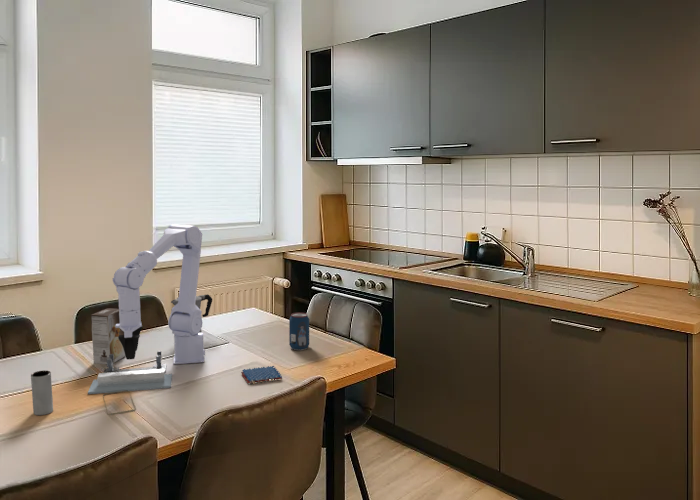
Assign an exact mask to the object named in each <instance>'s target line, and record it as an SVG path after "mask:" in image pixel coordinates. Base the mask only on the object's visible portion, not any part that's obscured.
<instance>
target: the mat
mask: <svg viewBox="0 0 700 500" xmlns="http://www.w3.org/2000/svg"><path fill="white" fill-rule="evenodd" d="M172 379H173V373H167V374H166V373H165V382H158V383H145V384H132V385H119V386H106V387H98V378H97V379H93V380H92V383H91V384H90V387H89V389H88V391H87V395H95V394H106V393H113V392H119V391H129V392H135V391H147V390H159V389H171V388H172Z"/></svg>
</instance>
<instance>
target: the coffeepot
mask: <svg viewBox="0 0 700 500" xmlns="http://www.w3.org/2000/svg"><path fill="white" fill-rule="evenodd" d="M178 299H179V296H178V297H176V299H173V300H171V301H170V303H171V304H172V305H173V307H174V306H175V305H176V304H178ZM205 300H207V302H206V307H205V311H204V312H205V313H204V314H201V317H202V318H205V317H208V316H209V313H210V310H211V307H212V304H213V303H212V302H213V298H212V297H211V295H209V294H201V295H196V302H195V304H196V306H197V307H198V308H199V309H200V310H201V306H202V301H205ZM183 313H185V312H183ZM187 314H189V313H187ZM199 333H203V332H202V329H201V330H200V331H199Z"/></svg>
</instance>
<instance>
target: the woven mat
mask: <svg viewBox="0 0 700 500" xmlns="http://www.w3.org/2000/svg"><path fill="white" fill-rule="evenodd" d="M240 374H241V376H242V377H243V378H244V379H245V382H246V381H247V382H246V383H247V384H248V383H251V384H252V383H253V384H252V385H255V384H256V383H255V382H258V383H260V382H262V383H264V382H263V381H266V382H267V381H269V379H271V381H272V380H273V379H274V380H275V379H281V380H282V379H283V376H282V374H281V373H280V372H279V370H278V369H277V368H276V367H275V365H270V366H269V365H268V366H262V367H256V368H255V367H254V368H247V369H245V368H244V369H242V371H241V372H240ZM269 382H270V381H269Z"/></svg>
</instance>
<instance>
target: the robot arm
mask: <svg viewBox="0 0 700 500" xmlns="http://www.w3.org/2000/svg"><path fill="white" fill-rule="evenodd" d="M202 240H203V232H202V231H201V230H200V228H199V227H198V226H196V225H181V224H174V223H173V224H172V223H171V224H169V225H168V226H167V228H165V229H164V230H163V235H162V236H161V237H160V238H159V239H158V240H157V241H156V242H155V243H154V244H153V245H152V247H150V248H149V250H142V251H139V252H138V253H137V256H135V258H133V259H132V260H131V261H130V262H128V263H127V265H125V266H121V267H119V268H118V269H117V270H116V271H115V273H114V274H113V277H112V283H113V285H114V286H115V288H116V292H117V294H118V295H117V296H118V309H119V318H120V324H116V325H115V327H116V328H120V329H121V330H122V331H123V332H124V335H119V337H118V339H119V341H120V342H121V344H122V346H123V349H124V352H125V360H135V357H136V353H137V350H138V348H139V340H140V337H141V334H140V333H141V331H142V330H143V325H142V321H141V320H142V319H141V318H142V317H141V316H142V315H141V299H140V298H141V297H140V296H141V295H140V292H141V291H140V287H142V286H143V283H144V282H145V281H144V280H145V278H146V276H147V274H149V273H150V272H151V271H152V270H153V269H154V268H155V267H156V266H157V264H158V259H159V258H161V257H162V256H163V255H165V253H166V252H168V251H169V250H170V249H172V248H173V247H174V248H175V249H177V250H178V251H180V253H181V254H182V262H181V263H182V264H181V271H180V272H181V273H180V281H179V292H178V297H179V299H178V304H176V305H175V306H174V305H173V307H171V312H170V315H169V317H168V320H167V321H168V322H167V325H168V326H167V327H168V328H169V330H171V334H172V335H173V341H174V343H173V344H174V356H173V363H172V364H173V365H182V364H196V363H197V364H199V363H204V362H205V356H206V352H205V351H206V349H204V348H205V347H204V332H202V333H199V331H200V330H201V331H202V329H203V328H202V327H203V316H202V310H201V308H200V309H199V308H198V307H197V306H196V304H195V302H196V296H197V294H198V293H197V292H198V283H199V282H198V281H199V273H200V272H199V271H200V263H201V261H200V260H201V253H202V251H201V250H202ZM183 312H185V313H183ZM187 313H189V314H187Z"/></svg>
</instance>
